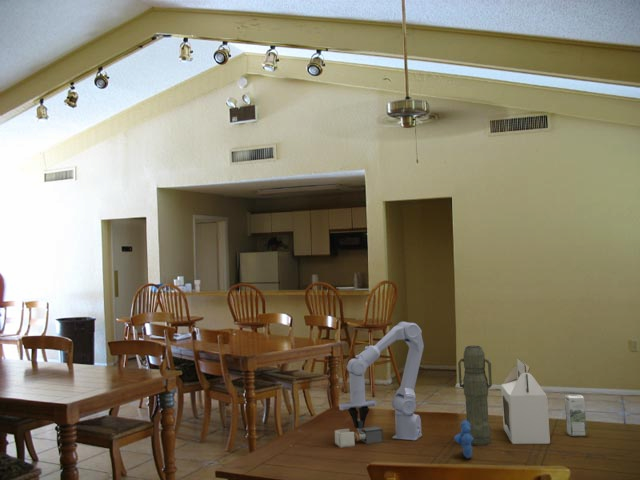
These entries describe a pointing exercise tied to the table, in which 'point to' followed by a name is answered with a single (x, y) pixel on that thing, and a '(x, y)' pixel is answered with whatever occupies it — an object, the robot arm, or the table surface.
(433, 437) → the table surface
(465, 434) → the grapes
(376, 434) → the charcoal sleeve
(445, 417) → the table surface
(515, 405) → the gable box
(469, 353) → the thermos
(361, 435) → the silver cylinder with handle
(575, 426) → the syrup box
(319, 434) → the table surface
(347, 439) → the ceramic socket
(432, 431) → the table surface
